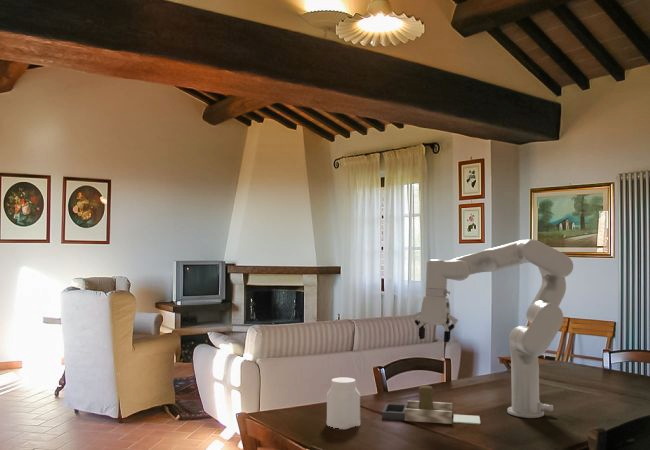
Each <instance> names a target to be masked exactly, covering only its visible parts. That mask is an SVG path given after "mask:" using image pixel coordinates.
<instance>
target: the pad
mask: <svg viewBox="0 0 650 450" xmlns="http://www.w3.org/2000/svg"><path fill="white" fill-rule="evenodd" d="M452 416H453V417H452V424H453V423H455V424H468V425H481V418H480V415H471V414H470V415H469V414H456V413H455V414H454V413H453V415H452Z"/></svg>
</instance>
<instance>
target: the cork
mask: <svg viewBox="0 0 650 450" xmlns="http://www.w3.org/2000/svg"><path fill="white" fill-rule="evenodd" d="M418 394H419V400H418V401H419V409H424V410H434V409H433V402H434V401H433V395H434V389H433V387H432V386H430V385H421V386H419V387H418Z"/></svg>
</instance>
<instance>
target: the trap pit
mask: <svg viewBox="0 0 650 450" xmlns="http://www.w3.org/2000/svg"><path fill="white" fill-rule="evenodd" d="M405 408H408V405H407V403H406V404H403V403H402V404H400V403H385V404H384V407H383V409H382V412H381V419H382V420H387V421H388V420H390V421H404V422H406V421H405Z"/></svg>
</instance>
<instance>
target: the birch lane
mask: <svg viewBox="0 0 650 450" xmlns="http://www.w3.org/2000/svg"><path fill="white" fill-rule="evenodd" d="M419 401H420V400H407V403H406V405H408V408H405V421H404V422H420V423H421V422H422V423H433V424H435V423H437V424H447V425H449V424H453V417H452V416H453V402H439V401H433V409H434V410H424V409H419Z"/></svg>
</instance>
